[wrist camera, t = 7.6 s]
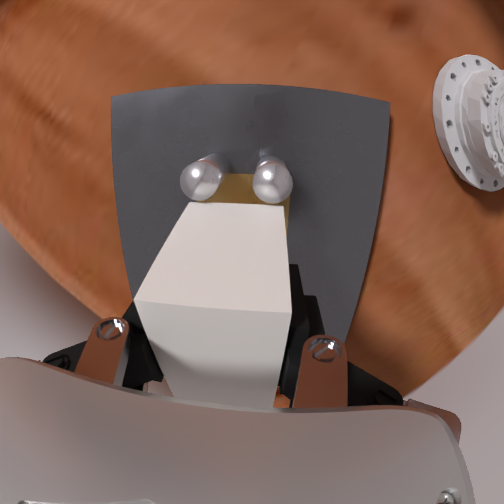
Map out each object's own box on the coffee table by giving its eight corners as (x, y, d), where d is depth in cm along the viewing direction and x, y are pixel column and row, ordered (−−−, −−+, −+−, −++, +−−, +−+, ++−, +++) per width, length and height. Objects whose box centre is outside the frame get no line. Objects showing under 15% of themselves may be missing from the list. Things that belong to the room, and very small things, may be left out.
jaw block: (189, 202, 11) (133, 299, 7) (283, 205, 11) (292, 312, 6) (200, 303, 15) (175, 400, 10) (273, 307, 15) (271, 409, 10)
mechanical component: (524, 122, 11) (456, 32, 10) (559, 130, 7) (492, 21, 6) (484, 210, 15) (406, 125, 14) (519, 232, 11) (446, 129, 10)
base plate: (119, 97, 13) (70, 93, 9) (383, 103, 13) (426, 98, 8) (146, 330, 21) (125, 373, 17) (339, 343, 21) (351, 391, 16)
